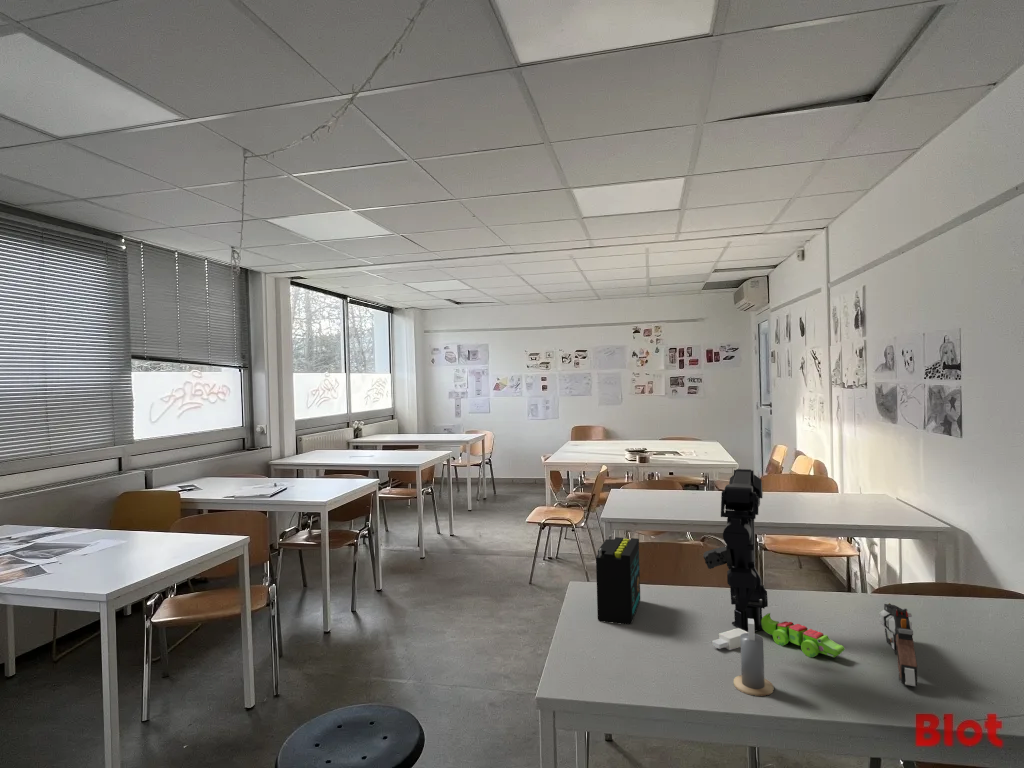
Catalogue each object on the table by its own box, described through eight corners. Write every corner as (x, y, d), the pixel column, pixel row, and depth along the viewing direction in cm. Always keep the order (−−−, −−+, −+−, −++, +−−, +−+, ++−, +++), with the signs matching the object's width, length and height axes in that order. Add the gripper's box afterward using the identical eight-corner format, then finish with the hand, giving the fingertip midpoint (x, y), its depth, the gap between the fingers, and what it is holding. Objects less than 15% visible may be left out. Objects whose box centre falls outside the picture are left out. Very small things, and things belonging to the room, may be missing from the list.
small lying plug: (738, 639, 149) (738, 627, 149) (749, 644, 146) (749, 632, 146) (710, 648, 145) (709, 636, 145) (721, 653, 142) (720, 641, 142)
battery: (609, 597, 181) (607, 534, 182) (640, 600, 178) (638, 535, 178) (597, 621, 163) (595, 550, 164) (631, 625, 160) (629, 552, 160)
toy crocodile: (848, 659, 137) (847, 633, 137) (833, 667, 133) (832, 640, 134) (773, 631, 154) (772, 608, 154) (757, 637, 150) (756, 614, 150)
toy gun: (903, 666, 144) (899, 603, 148) (924, 688, 120) (918, 612, 124) (881, 663, 146) (877, 600, 150) (897, 683, 122) (892, 609, 126)
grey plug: (741, 677, 128) (739, 616, 129) (764, 680, 127) (762, 618, 127) (742, 687, 124) (739, 624, 124) (765, 690, 123) (763, 626, 123)
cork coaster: (754, 674, 131) (754, 672, 131) (782, 691, 123) (782, 688, 123) (725, 681, 128) (725, 678, 128) (751, 699, 120) (751, 696, 120)
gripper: (706, 528, 151) (708, 587, 151) (703, 546, 133) (705, 614, 133) (752, 530, 147) (754, 592, 147) (755, 549, 129) (757, 619, 129)
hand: (742, 603), depth 139 cm, fingers open, 9 cm apart
